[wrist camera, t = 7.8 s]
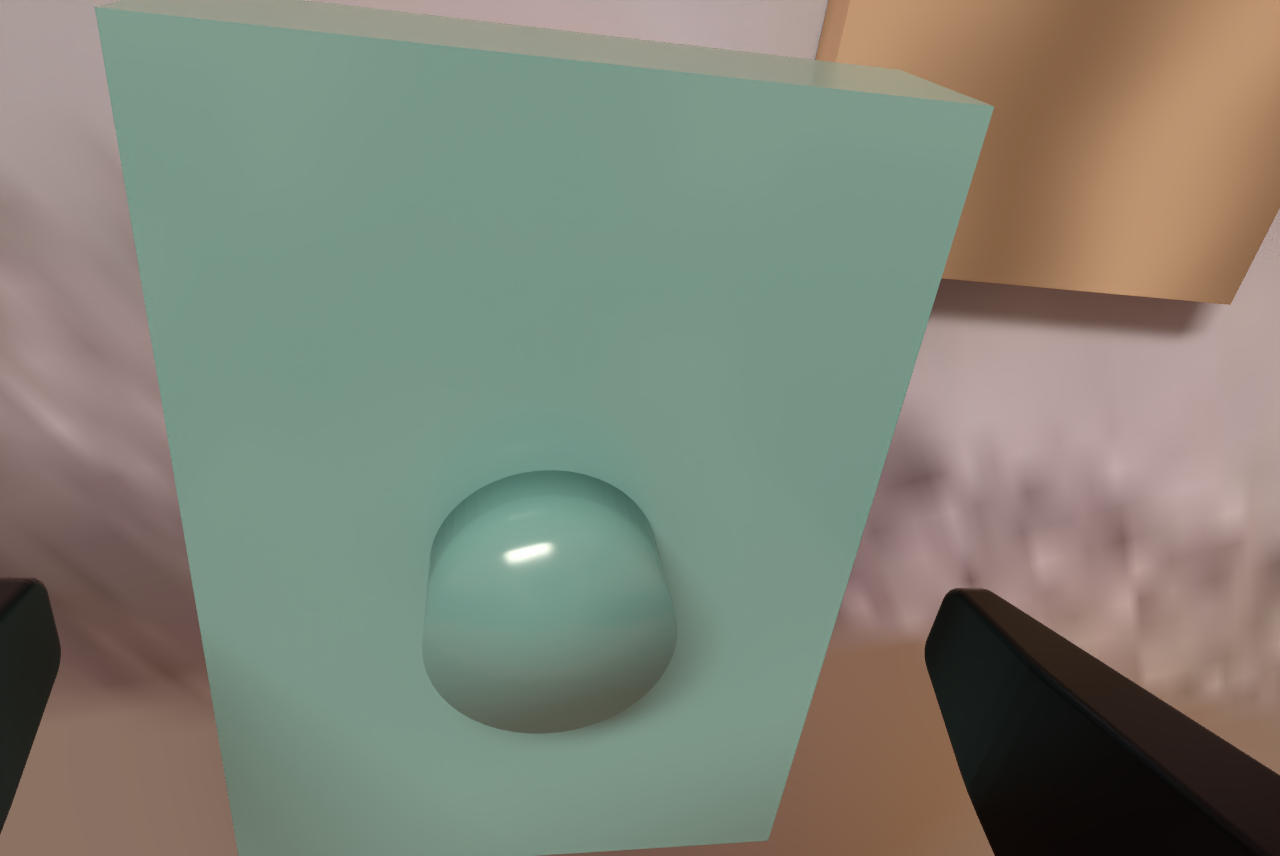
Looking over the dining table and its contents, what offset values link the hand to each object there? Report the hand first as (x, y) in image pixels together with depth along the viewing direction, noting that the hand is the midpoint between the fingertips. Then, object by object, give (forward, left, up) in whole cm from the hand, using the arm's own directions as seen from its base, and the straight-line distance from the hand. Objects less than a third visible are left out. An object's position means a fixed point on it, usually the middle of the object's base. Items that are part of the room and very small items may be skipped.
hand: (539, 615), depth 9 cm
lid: (0, 0, -3) cm, 3 cm away
